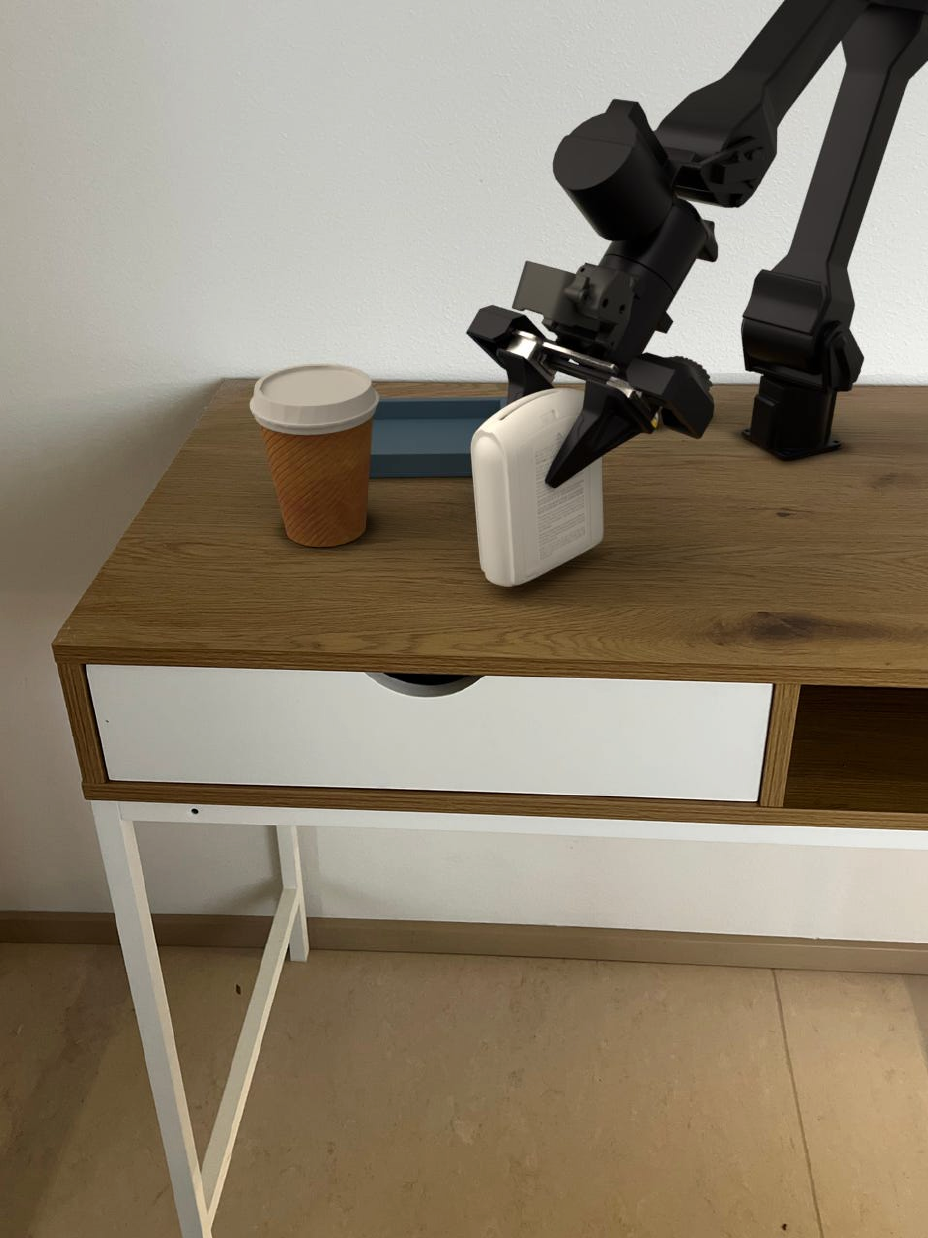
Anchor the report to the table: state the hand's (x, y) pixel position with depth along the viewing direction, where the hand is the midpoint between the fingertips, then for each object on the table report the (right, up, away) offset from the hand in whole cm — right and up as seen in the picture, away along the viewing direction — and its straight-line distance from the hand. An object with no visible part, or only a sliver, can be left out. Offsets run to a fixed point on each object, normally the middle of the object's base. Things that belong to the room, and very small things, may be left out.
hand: (524, 475), depth 79 cm
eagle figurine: (+14, +9, +29) cm, 33 cm away
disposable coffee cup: (-15, -3, +12) cm, 19 cm away
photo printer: (+2, -6, +4) cm, 7 cm away
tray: (-9, +6, +25) cm, 27 cm away
